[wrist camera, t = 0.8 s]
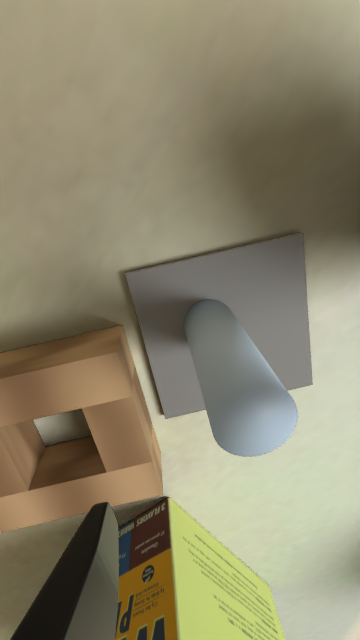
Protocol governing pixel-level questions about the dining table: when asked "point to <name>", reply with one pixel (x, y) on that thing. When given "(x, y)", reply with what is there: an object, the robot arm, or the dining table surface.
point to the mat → (243, 300)
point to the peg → (237, 383)
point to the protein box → (187, 584)
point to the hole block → (83, 454)
